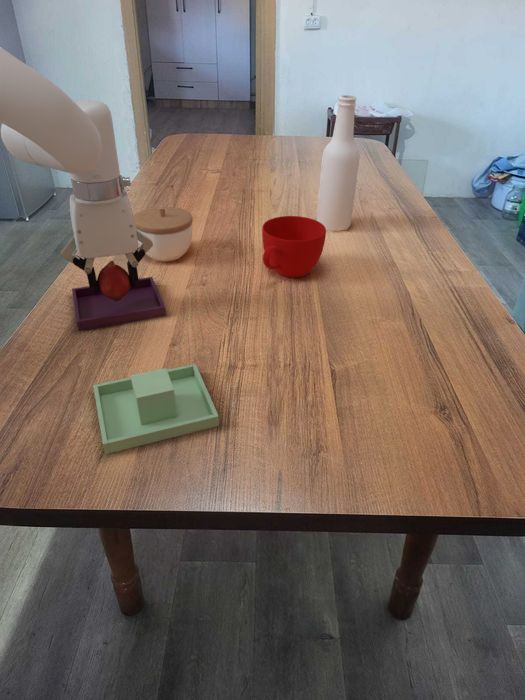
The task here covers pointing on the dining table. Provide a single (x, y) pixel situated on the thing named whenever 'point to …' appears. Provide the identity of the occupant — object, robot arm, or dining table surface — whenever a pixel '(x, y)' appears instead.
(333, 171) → the alcohol
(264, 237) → the ceramic cup
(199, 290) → the dining table surface
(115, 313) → the plum tray
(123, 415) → the sage tray
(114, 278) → the red pomegranate
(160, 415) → the sage block
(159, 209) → the lidded bowl
